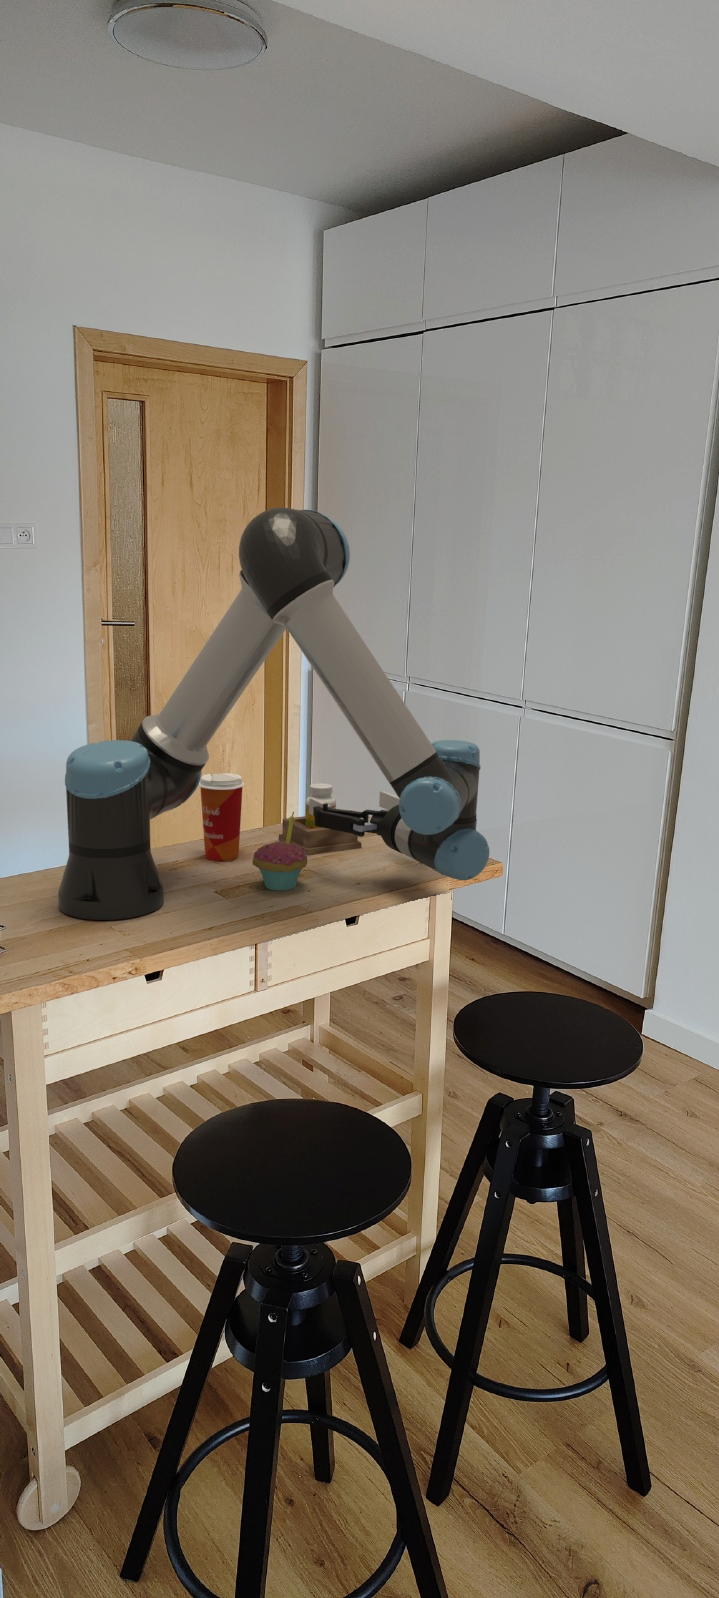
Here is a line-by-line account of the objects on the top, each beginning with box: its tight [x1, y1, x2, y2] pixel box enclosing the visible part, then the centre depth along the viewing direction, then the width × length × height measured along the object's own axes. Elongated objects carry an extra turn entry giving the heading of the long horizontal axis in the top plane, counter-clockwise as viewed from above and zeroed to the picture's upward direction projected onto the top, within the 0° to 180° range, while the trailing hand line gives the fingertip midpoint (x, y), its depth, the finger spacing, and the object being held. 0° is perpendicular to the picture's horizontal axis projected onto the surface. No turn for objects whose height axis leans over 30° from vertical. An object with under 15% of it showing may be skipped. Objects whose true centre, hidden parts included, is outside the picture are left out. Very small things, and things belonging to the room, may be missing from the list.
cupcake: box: [251, 811, 308, 892], centre depth 168 cm, size 9×8×12 cm
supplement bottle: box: [305, 782, 337, 829], centre depth 192 cm, size 5×5×10 cm
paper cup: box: [198, 772, 245, 862], centre depth 182 cm, size 8×8×14 cm
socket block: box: [278, 815, 362, 856], centre depth 193 cm, size 11×11×4 cm
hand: (346, 801), depth 183 cm, fingers open, 13 cm apart
